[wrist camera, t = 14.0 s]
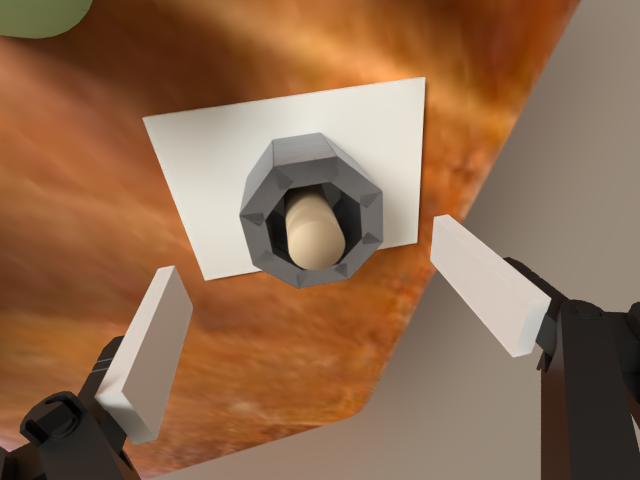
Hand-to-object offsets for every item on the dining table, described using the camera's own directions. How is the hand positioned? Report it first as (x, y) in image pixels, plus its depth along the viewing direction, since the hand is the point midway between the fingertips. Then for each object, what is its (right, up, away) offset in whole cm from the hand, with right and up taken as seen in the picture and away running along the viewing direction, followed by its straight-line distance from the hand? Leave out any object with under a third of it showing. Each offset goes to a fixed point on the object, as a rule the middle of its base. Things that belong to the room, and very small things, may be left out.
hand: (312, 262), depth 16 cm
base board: (-1, +6, +10) cm, 12 cm away
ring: (-1, +5, +9) cm, 11 cm away
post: (-1, +6, +10) cm, 12 cm away
